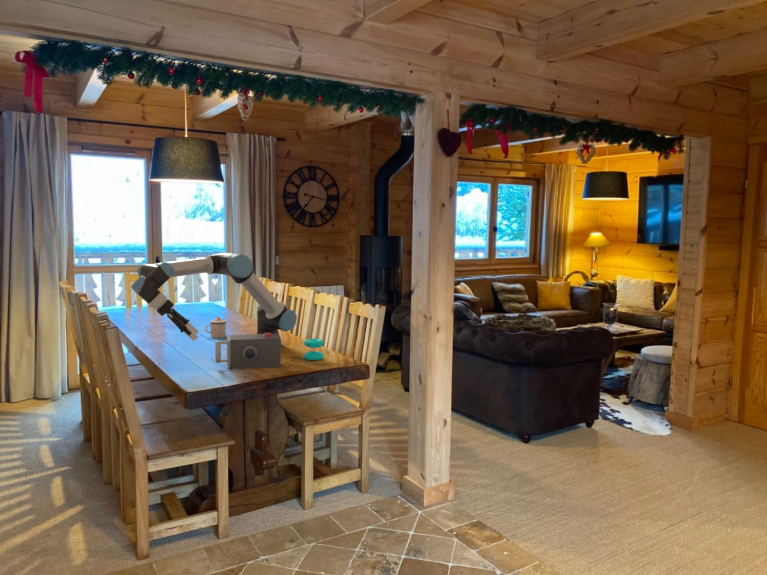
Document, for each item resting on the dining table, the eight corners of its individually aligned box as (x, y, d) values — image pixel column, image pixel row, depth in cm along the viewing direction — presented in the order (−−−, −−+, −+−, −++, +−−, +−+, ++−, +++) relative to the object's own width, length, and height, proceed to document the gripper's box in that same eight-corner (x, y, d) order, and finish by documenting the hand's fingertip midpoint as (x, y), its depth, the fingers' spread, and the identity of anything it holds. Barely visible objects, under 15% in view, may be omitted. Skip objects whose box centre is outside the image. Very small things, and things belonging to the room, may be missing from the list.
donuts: (308, 337, 318) (326, 338, 315) (308, 356, 319) (326, 357, 316) (300, 340, 308) (319, 342, 306) (300, 360, 309) (319, 362, 307)
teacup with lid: (224, 334, 370) (224, 315, 368) (227, 337, 362) (227, 317, 361) (203, 335, 364) (203, 316, 363) (207, 338, 356) (207, 318, 355)
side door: (215, 362, 298) (215, 336, 297) (230, 361, 300) (229, 335, 299) (215, 368, 286) (215, 341, 285) (230, 367, 288) (230, 340, 287)
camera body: (230, 363, 300) (230, 332, 298) (277, 361, 306) (278, 331, 304) (231, 370, 286) (231, 338, 285) (281, 368, 292) (281, 336, 291)
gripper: (158, 306, 290) (191, 336, 296) (153, 314, 266) (189, 347, 272) (169, 295, 291) (202, 325, 297) (165, 302, 267) (201, 335, 273)
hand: (196, 336), depth 284 cm, fingers open, 13 cm apart
